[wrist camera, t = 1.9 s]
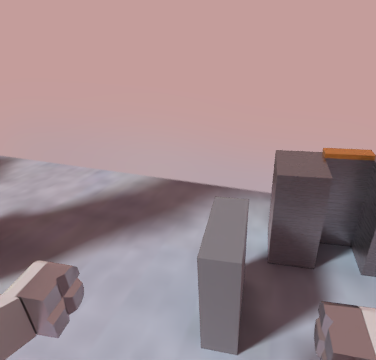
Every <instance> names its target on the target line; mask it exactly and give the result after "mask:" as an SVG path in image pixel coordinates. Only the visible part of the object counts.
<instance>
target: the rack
mask: <svg viewBox="0 0 376 360" xmlns="http://www.w3.org/2000/svg"><path fill="white" fill-rule="evenodd" d="M319 243H326V244H335V245H345V246H351V248H352V250H353V253H354V256H355V259H356V262H357V264H358V267H359V270H360V273H361V275H367V276H375V277H376V155H375V154H374V153H373V152H372V150H359V149H336V148H323V152H304V151H282V150H277V151H276V154H275V164H274V174H273V185H272V194H271V204H270V214H269V224H268V263H273V264H281V265H288V266H296V267H304V268H312V269H314V266H315V262H316V257H317V252H318V247H319Z"/></svg>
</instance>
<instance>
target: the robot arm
mask: <svg viewBox="0 0 376 360" xmlns="http://www.w3.org/2000/svg"><path fill="white" fill-rule="evenodd" d="M79 274H80V273H79V271H78V268H77V267H75V266H70V265H65V264H59V263H53V262H46V261H40V260H38V261H36V262H33V263H32V264H31V266H30V267H29V268H28V269H27V270H26V271H25V272H24V273H23V274H22V275H21V276H20V277H19V278H18V279H17V280H16V281H15V282H14V283H13V284H12V285H11V286H10V287H9V288H8V289H7V290H6V291H5V292H4V293H3V294H0V360H5V359H6V358H8V357H9V356H10V355H12V354H13V353H14V352H16V351H17V350H18V349H20V348H21V347H22V346H24V345H25V344H26V343H28V342H29V341H30V340H32V339H33V338H34V337H35V336H36V334H37V335H42V336H48V337H54V338H59V336H60V335H61V333H62V332H63V330H64V329H65V327H66V326H67V324H68V323H69V321H70V319H69V315H70V314H71V313H73V312H74V311H76V310H77V309H78V307H79V306H80V304H81V302H82V299H83V296H84V287H83V283H82V282H81V281H80V280H79V279H78V276H79ZM318 311H319V318H318V319H316V323H315V331H314V341H315V350H316V354H317V355H318V356H319V358H320V360H376V309H375V308H368V307H361V306H355V305H347V304H340V303H332V302H325V301H321V302H320V305H319V309H318Z"/></svg>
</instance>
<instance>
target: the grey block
mask: <svg viewBox="0 0 376 360" xmlns="http://www.w3.org/2000/svg"><path fill="white" fill-rule="evenodd" d="M248 205H249V199H239V198H227V197H215V199H214V202H213V206H212V209H211V213H210V216H209V219H208V223H207V226H206V230H205V233H204V236H203V240H202V243H201V247H200V250H199V253H198V257H197V265H198V289H199V312H200V336H201V348H204V349H209V350H214V351H219V352H224V353H229V354H234V355H237V352H238V341H239V330H240V319H241V308H242V297H243V286H244V273H245V256H246V239H247V222H248Z"/></svg>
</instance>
